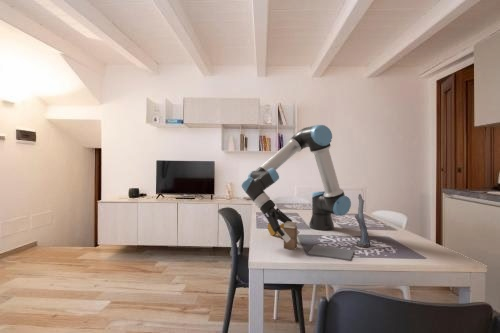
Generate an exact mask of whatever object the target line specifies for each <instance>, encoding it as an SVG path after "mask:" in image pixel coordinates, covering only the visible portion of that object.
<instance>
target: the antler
mask: <svg viewBox="0 0 500 333" xmlns="http://www.w3.org/2000/svg"><path fill="white" fill-rule="evenodd" d="M357 198H358V208H357V214H354V218H355V220H356V221H357V223H358V227H359V229H360V240H356V244H355V245H356V246H359V247H364V248H365V247H372V244H371V240H370V239H369V232H368V227H367V225H366V221H365V216H364V204H365V200H364V199H363V196H362V194H361V193H358V197H357Z"/></svg>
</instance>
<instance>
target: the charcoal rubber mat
mask: <svg viewBox="0 0 500 333" xmlns="http://www.w3.org/2000/svg"><path fill="white" fill-rule="evenodd" d="M354 253H355V250H354V249H348V248H341V247H334V246H325V245H318V244H315V245H314V246H313V247H311V249H310V250H309V251H308V252H307V255H310V256H317V257H321V258H322V257H323V258H328V259H329V258H330V259H337V260H342V261H344V260H345V261H351V260H352V258H353V256H354Z"/></svg>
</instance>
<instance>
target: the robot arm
mask: <svg viewBox="0 0 500 333" xmlns="http://www.w3.org/2000/svg"><path fill="white" fill-rule="evenodd" d="M332 139H333V134H332V131H331V129H330V128H329V127H328V126H326V125H324V124H316V125H312V126H307V127H303V128H302V129H300V130H298V131H297V132H296V133H295V134H294V135H292V136H291V137H290V138H289V140H288V142H287V143H286V144H285V145H283V146H282V147H281V148H280V149H279V150H278V151H276V153H275V154H273V155H272V156H271V157H270V158H268V159H267V160H266V161H265V162H264V163H263V164H261V165H260V166H259V167H257V168H256V169H255V170H252V171H250V172H249V174H248V177H247V178H245V180H244V181H242V184H241V189H242V190H243V191H244V193H245V194H246V195H247V196H248V198H250V200H251V201H253V203H254V205H255V206H257V208H258V209H259V210H260V211H261V212H262V214H263V215H264V217H265V218H266V220H267V222H268V223H270V225H271V227H272V229H273V231H274V232H275V233H276V232H278V233H279V234H280V236H281V237H280V236H279V237H280V238H282V239H283V241H284V240H285V242H286V243H287V242H288V241H289V240H291V238H290V237H289V236H288V234H287V233H286V232H285V231H284V230H283V229H282V228H281V229H280V225H281V224H280V223H279V221H280V222H281V223H285V222H287V221H289V222H293V220H292V219H291V218H290V217H289V216H288V215H286V214H285V213H283V211H281V210H280V208H279V207H276V203H275V202H274V201H273V200H272V199H271V198H270V196H269V195H268V194H267V193H266V192H265V190H267V188H269V187H271V186H272V185H273V184H275V183H276V182H277V181H279V179H280V175H279V173H278V171H277V170H278V169H279V168H280V167H281V166H282V165H284V164H285V163H286V162H287V161H288V160H289V159H291V158H292V157H293V156H294V155H295V154H296V153H298V152H301V151H302V150H304V149H306V148H309V151H310V153H312V154H314V158H315V161H316V165H317V168H318V172H319V176H320V178H321V183H322V187H323V190H324V191H314V192H313V193H312V197H311V206H312V207H311V218H310V221H309V223H308V224H309V225H308V226H309V228H310V229H313V230H317V231H331V230H334V228H335V224H334V221H333V218H332V215H335V216H342V217H344V216H345V215H347V214H348V213H349V211H350V209H351V206H352V202H351V199H350V197H348V196H347V195H345V192H344V189H342V188H341V187H340V184H339V180H338V177H337V173H336V170H335V166H334V163H333V160H332V155H331V153H330V148H331V147H332V145H331V142H332ZM275 207H276V208H275ZM299 234H300V231H299V230H298V229H297V236H298V235H299Z"/></svg>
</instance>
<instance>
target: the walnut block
mask: <svg viewBox="0 0 500 333" xmlns="http://www.w3.org/2000/svg"><path fill="white" fill-rule="evenodd" d="M297 230H298V222H297V221H292V222H289V221H287V222H285V223H284V231H285V232H286V233H287V234H288V236H289V237H290V238H291V240H289V241H288V242H287V243H286V242H285V240H284V239H283V249H284V250H285V249H286V250H287V249H288V250H293V251H294V250H296V249H297V248H298V235H297Z"/></svg>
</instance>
